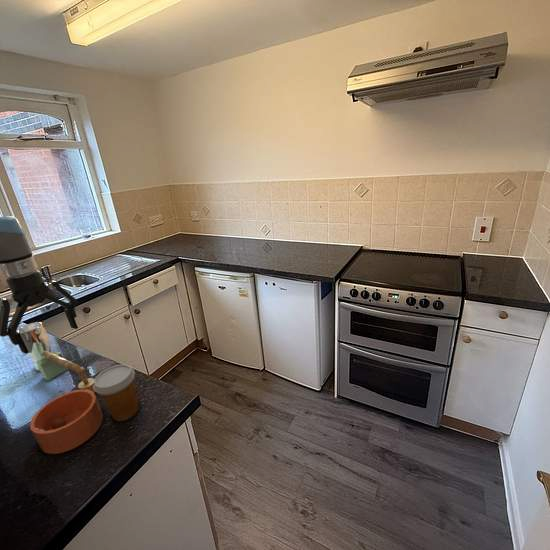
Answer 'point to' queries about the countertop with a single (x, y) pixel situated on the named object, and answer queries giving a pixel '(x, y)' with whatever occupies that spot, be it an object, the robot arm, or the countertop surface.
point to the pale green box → (50, 367)
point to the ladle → (86, 383)
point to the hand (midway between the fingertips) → (51, 339)
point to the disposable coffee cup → (118, 391)
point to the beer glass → (35, 340)
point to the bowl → (67, 421)
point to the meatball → (58, 423)
